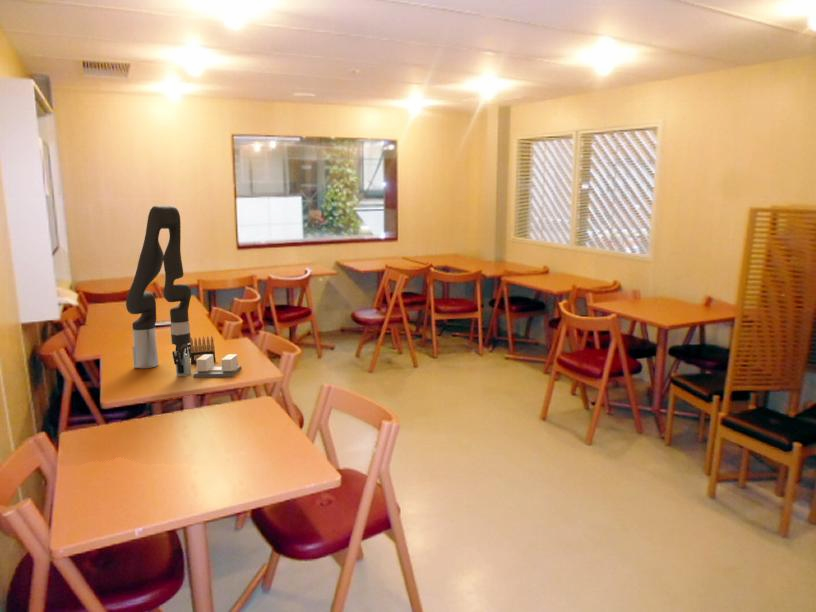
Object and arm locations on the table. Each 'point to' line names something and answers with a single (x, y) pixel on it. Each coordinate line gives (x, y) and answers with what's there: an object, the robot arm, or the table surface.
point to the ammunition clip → (200, 347)
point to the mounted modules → (208, 362)
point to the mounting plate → (216, 372)
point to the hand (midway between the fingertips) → (183, 371)
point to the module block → (185, 366)
